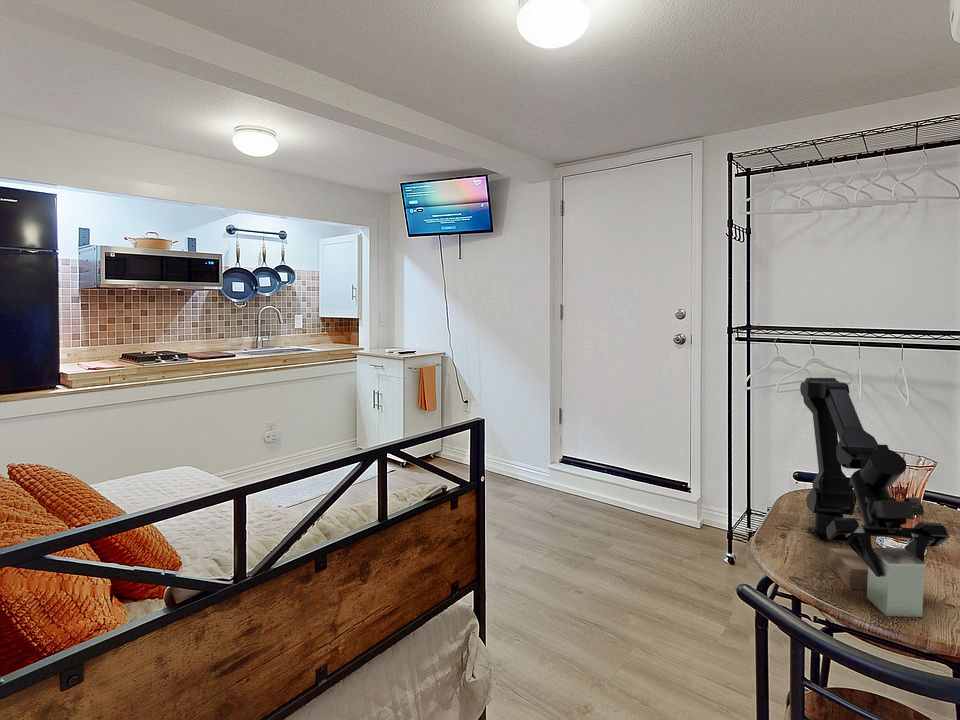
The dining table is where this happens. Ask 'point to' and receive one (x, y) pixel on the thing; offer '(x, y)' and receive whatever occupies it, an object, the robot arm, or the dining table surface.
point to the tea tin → (897, 583)
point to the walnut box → (848, 567)
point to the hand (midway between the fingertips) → (899, 577)
